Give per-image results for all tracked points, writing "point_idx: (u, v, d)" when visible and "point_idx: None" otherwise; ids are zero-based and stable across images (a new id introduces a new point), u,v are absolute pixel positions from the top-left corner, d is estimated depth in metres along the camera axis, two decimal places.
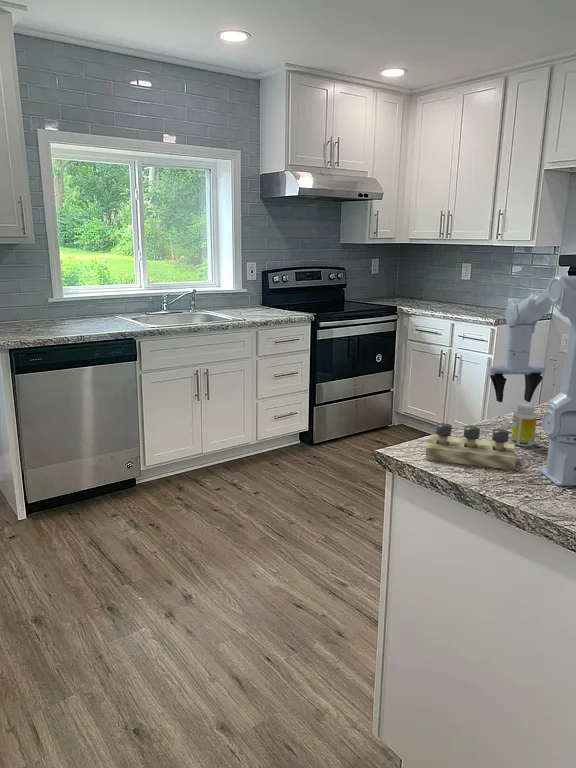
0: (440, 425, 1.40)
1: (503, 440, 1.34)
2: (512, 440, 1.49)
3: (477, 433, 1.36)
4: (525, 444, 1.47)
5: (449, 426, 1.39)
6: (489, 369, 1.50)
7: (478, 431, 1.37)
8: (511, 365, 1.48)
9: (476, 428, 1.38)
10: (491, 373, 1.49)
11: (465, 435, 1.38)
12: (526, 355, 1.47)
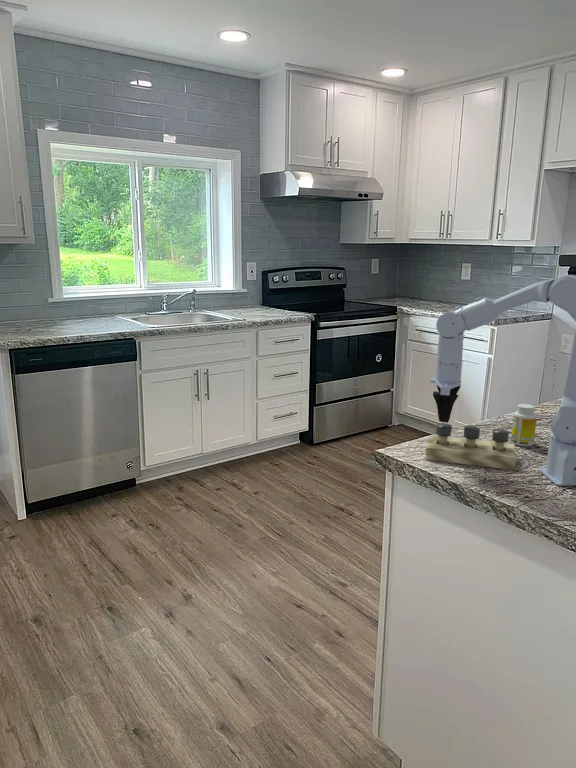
0: (440, 425, 1.40)
1: (503, 440, 1.34)
2: (512, 440, 1.49)
3: (477, 433, 1.36)
4: (525, 444, 1.47)
5: (449, 426, 1.39)
6: (445, 389, 1.31)
7: (478, 431, 1.37)
8: (454, 380, 1.35)
9: (476, 428, 1.38)
10: (449, 393, 1.31)
11: (465, 435, 1.38)
12: None
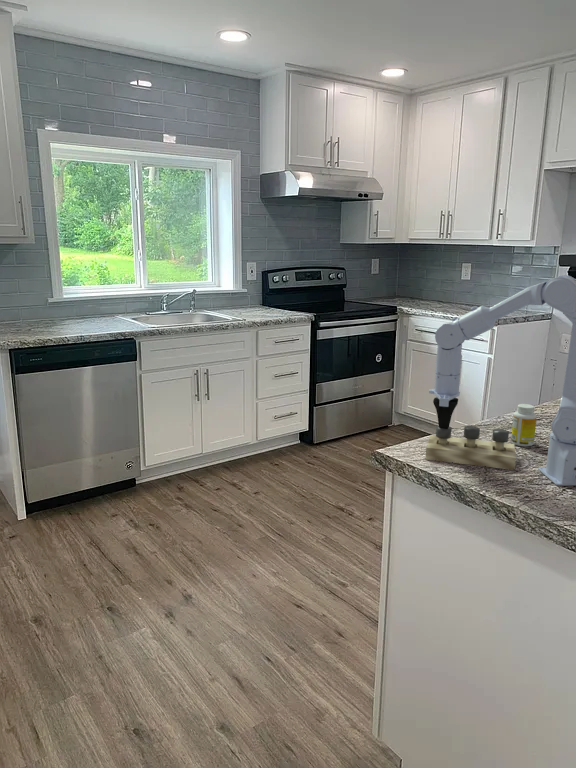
0: None
1: (503, 440, 1.34)
2: (512, 440, 1.49)
3: (477, 433, 1.36)
4: (525, 444, 1.47)
5: (449, 428, 1.39)
6: (444, 400, 1.31)
7: (478, 431, 1.37)
8: (453, 391, 1.35)
9: (476, 428, 1.38)
10: (448, 404, 1.31)
11: (465, 435, 1.38)
12: None
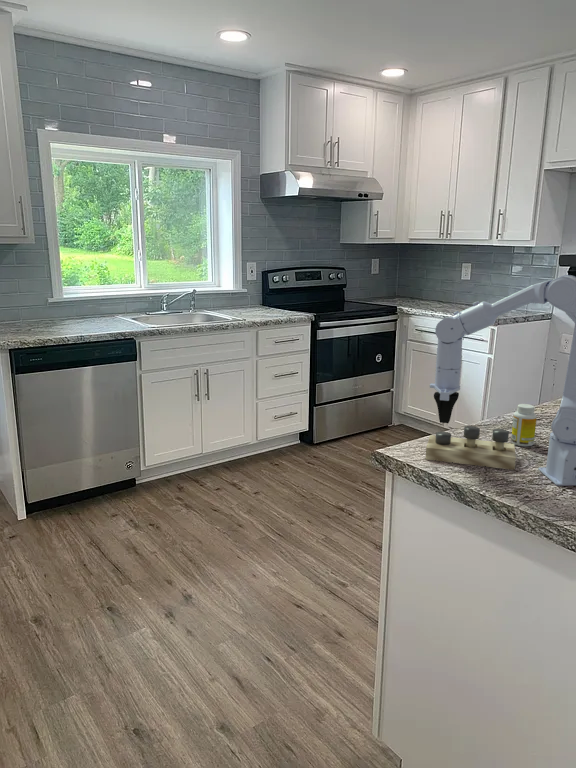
0: (439, 433, 1.40)
1: (503, 440, 1.34)
2: (512, 440, 1.49)
3: (477, 433, 1.36)
4: (525, 444, 1.47)
5: (448, 434, 1.40)
6: (444, 394, 1.31)
7: (478, 431, 1.37)
8: (453, 385, 1.35)
9: (476, 428, 1.38)
10: (448, 398, 1.31)
11: (465, 435, 1.38)
12: None
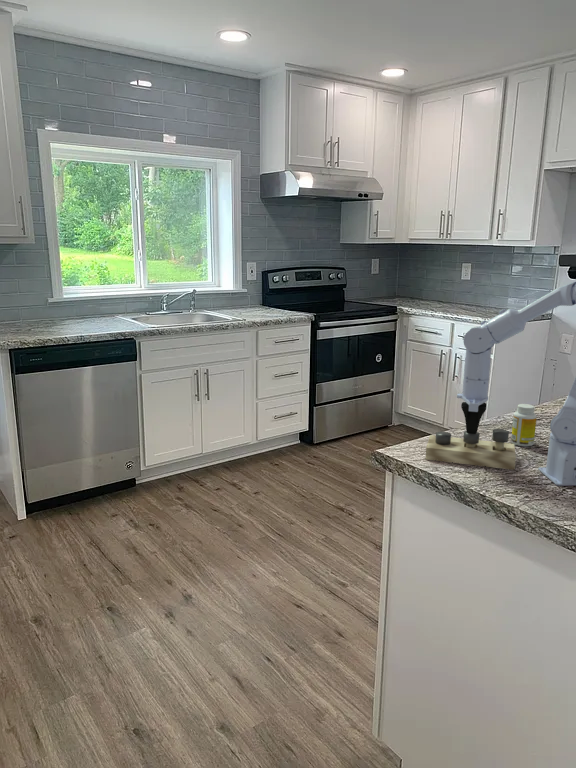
0: (439, 433, 1.40)
1: (503, 440, 1.34)
2: (512, 440, 1.49)
3: (477, 438, 1.37)
4: (525, 444, 1.47)
5: (448, 434, 1.40)
6: (473, 405, 1.29)
7: (478, 436, 1.37)
8: (482, 395, 1.33)
9: None
10: (477, 409, 1.30)
11: (465, 440, 1.38)
12: None
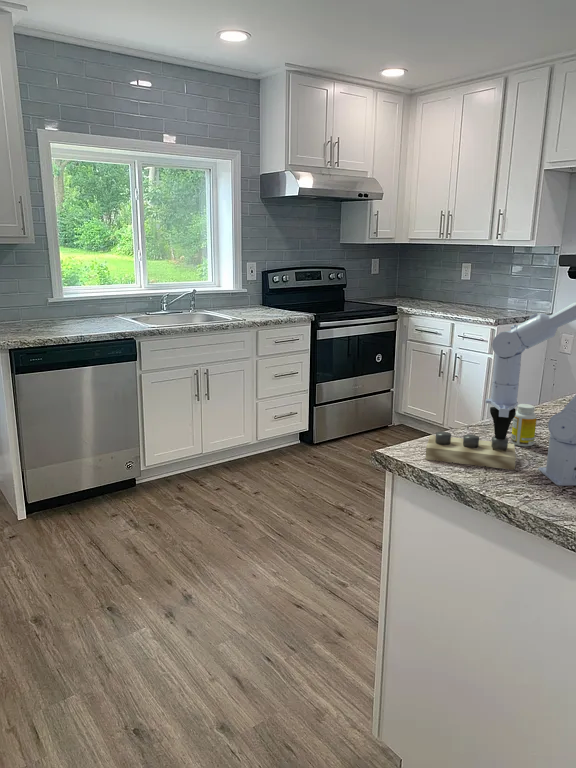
0: (439, 433, 1.40)
1: (502, 447, 1.35)
2: (512, 440, 1.49)
3: (476, 442, 1.37)
4: (525, 444, 1.47)
5: (448, 434, 1.40)
6: (504, 411, 1.28)
7: (477, 440, 1.37)
8: (511, 401, 1.31)
9: (475, 436, 1.38)
10: None
11: (464, 444, 1.38)
12: None
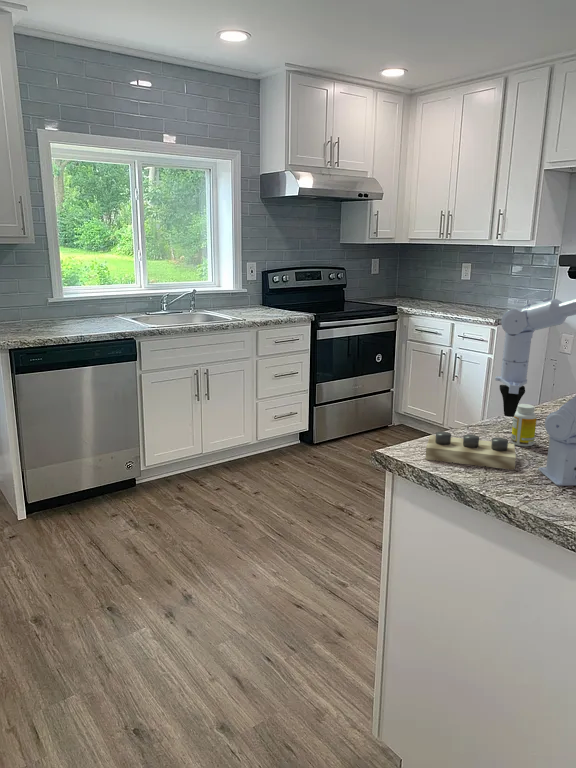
0: (439, 433, 1.40)
1: (502, 449, 1.35)
2: (512, 440, 1.49)
3: (476, 442, 1.37)
4: (525, 444, 1.47)
5: (448, 434, 1.40)
6: (514, 388, 1.29)
7: (477, 440, 1.37)
8: (521, 378, 1.33)
9: (475, 436, 1.38)
10: (518, 391, 1.29)
11: (464, 444, 1.38)
12: None
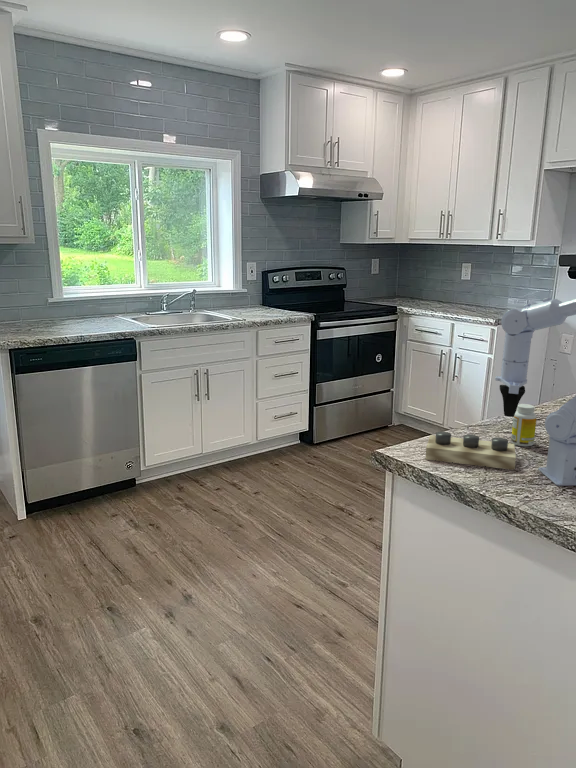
0: (439, 433, 1.40)
1: (502, 449, 1.35)
2: (512, 440, 1.49)
3: (476, 442, 1.37)
4: (525, 444, 1.47)
5: (448, 434, 1.40)
6: (514, 388, 1.29)
7: (477, 440, 1.37)
8: (521, 378, 1.33)
9: (475, 436, 1.38)
10: (518, 391, 1.29)
11: (464, 444, 1.38)
12: None
